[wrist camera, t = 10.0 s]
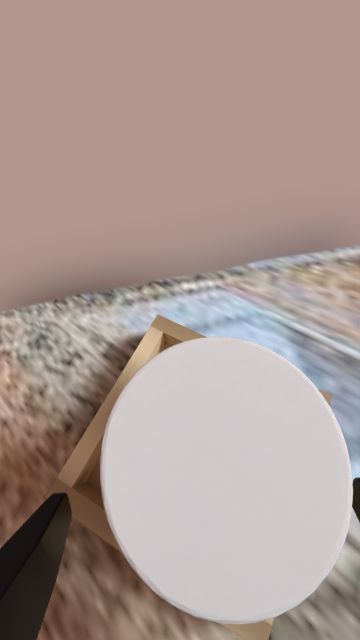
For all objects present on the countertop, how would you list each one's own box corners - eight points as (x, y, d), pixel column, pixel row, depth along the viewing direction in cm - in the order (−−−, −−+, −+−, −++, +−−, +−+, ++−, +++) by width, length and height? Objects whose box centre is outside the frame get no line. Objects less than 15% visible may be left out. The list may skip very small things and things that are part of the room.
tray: (248, 612, 14) (264, 654, 11) (68, 488, 16) (44, 497, 13) (310, 402, 18) (332, 395, 15) (161, 331, 21) (157, 314, 18)
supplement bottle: (164, 378, 18) (128, 265, 7) (257, 407, 17) (407, 336, 6) (128, 485, 15) (-41, 610, 4) (236, 526, 15) (442, 856, 3)
